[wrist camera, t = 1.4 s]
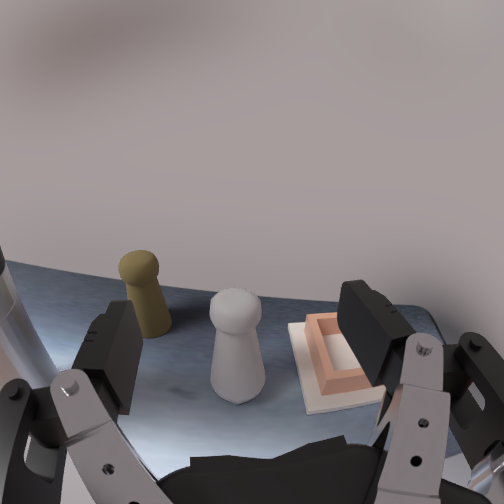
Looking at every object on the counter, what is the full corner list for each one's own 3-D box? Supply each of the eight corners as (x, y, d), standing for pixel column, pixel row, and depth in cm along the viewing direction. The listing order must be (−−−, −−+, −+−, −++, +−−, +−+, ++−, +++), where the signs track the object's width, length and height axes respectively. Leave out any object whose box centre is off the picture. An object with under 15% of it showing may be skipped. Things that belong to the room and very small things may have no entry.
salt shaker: (268, 374, 31) (276, 282, 25) (259, 415, 26) (265, 327, 20) (219, 366, 32) (212, 274, 26) (204, 404, 27) (188, 314, 21)
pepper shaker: (152, 305, 42) (139, 240, 36) (180, 320, 39) (170, 251, 34) (123, 326, 37) (104, 259, 32) (151, 345, 34) (132, 274, 29)
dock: (306, 415, 26) (313, 396, 24) (287, 327, 38) (290, 306, 36) (417, 392, 27) (430, 372, 25) (378, 319, 39) (385, 299, 37)
